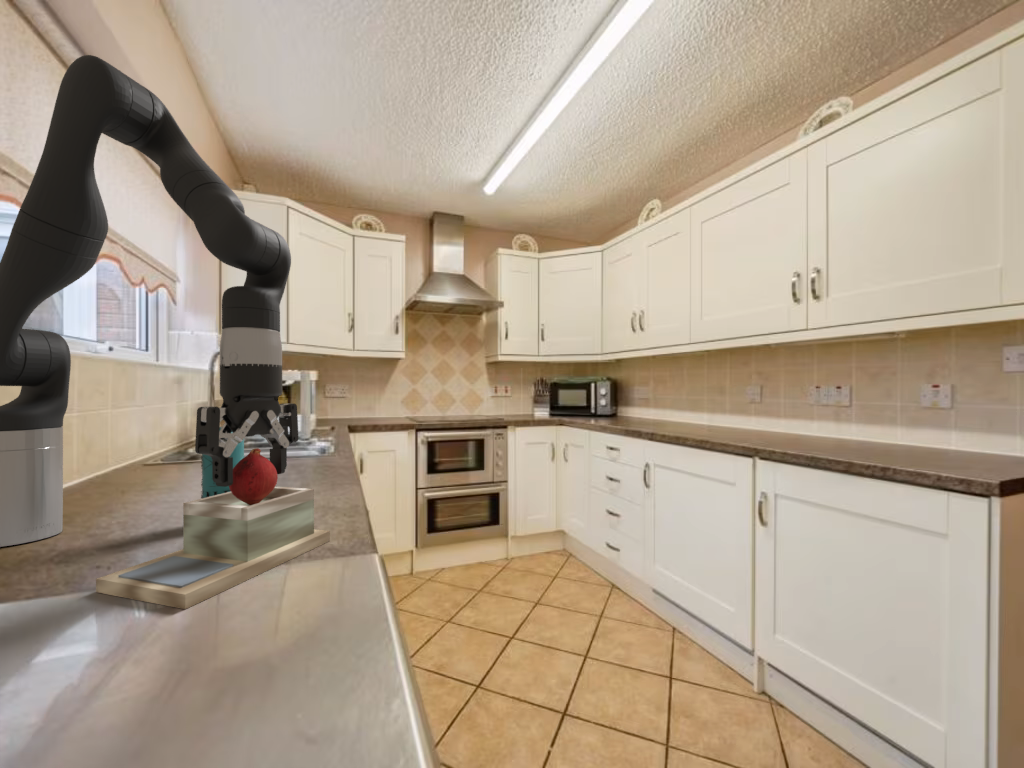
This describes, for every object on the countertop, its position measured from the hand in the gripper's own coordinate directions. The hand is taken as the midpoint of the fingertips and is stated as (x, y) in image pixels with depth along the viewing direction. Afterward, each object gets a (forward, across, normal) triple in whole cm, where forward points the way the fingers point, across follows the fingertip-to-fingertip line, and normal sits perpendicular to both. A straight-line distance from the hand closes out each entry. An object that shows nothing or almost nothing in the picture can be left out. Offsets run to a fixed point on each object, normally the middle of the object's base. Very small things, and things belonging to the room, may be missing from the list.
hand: (252, 479), depth 60 cm
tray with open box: (+10, +4, 0) cm, 11 cm away
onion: (+4, 0, 0) cm, 4 cm away
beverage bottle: (+10, -10, -18) cm, 23 cm away
